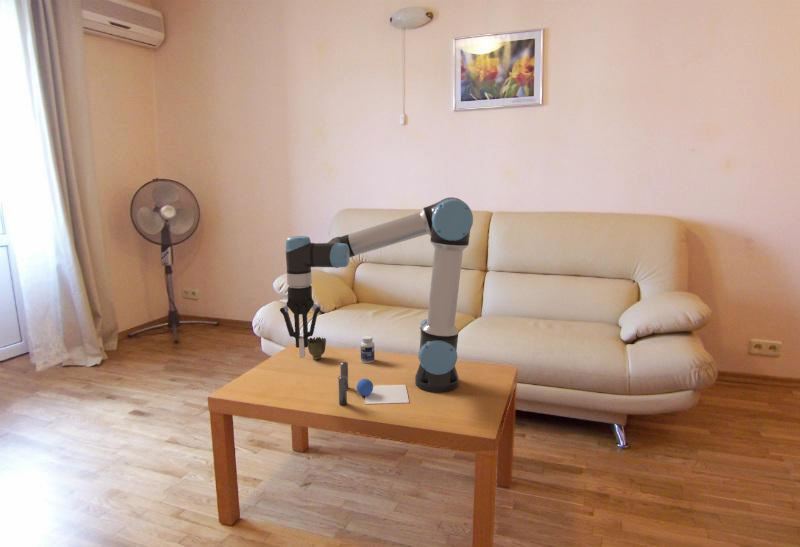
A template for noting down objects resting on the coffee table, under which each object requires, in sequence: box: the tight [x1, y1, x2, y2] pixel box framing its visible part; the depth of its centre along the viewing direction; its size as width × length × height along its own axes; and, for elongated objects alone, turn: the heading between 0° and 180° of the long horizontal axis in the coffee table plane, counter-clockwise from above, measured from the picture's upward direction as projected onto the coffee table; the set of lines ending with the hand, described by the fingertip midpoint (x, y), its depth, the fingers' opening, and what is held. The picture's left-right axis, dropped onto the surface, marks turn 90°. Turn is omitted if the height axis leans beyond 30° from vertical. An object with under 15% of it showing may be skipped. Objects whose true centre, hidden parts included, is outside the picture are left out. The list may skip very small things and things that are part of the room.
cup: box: [307, 336, 327, 361], centre depth 201 cm, size 8×7×8 cm
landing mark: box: [364, 384, 410, 405], centre depth 169 cm, size 14×14×1 cm
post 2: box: [337, 375, 348, 406], centre depth 161 cm, size 2×2×9 cm
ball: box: [356, 378, 374, 397], centre depth 168 cm, size 6×6×6 cm
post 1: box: [339, 361, 349, 390], centre depth 173 cm, size 2×2×9 cm
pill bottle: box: [360, 335, 375, 364], centre depth 199 cm, size 5×5×10 cm
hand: (302, 356), depth 165 cm, fingers closed
